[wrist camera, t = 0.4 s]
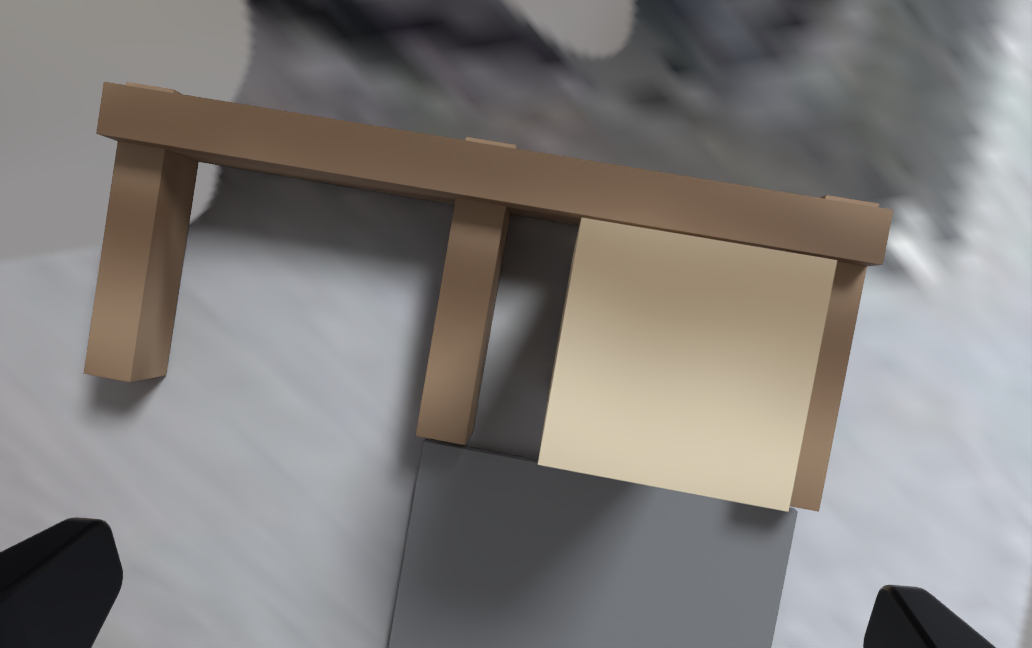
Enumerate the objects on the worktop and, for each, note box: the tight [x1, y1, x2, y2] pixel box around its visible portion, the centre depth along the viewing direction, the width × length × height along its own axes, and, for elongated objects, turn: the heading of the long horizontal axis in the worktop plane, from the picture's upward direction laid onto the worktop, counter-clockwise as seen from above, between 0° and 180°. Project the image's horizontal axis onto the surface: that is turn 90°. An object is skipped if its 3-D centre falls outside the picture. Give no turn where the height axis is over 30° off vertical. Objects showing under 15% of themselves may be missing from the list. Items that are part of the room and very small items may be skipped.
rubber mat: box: [388, 439, 797, 648], centre depth 23 cm, size 9×12×1 cm
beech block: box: [538, 218, 837, 512], centre depth 18 cm, size 5×5×10 cm
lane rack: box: [84, 82, 893, 511], centre depth 22 cm, size 9×22×3 cm, turn 80°
